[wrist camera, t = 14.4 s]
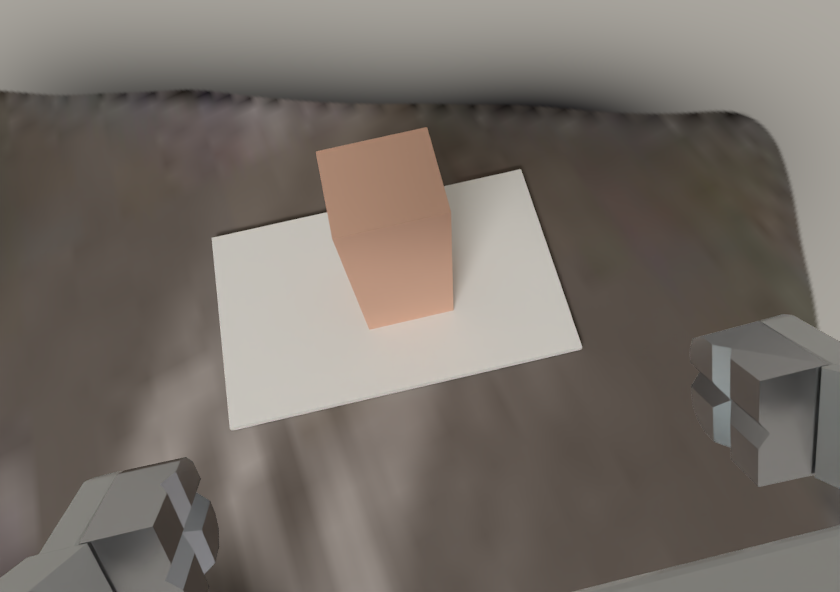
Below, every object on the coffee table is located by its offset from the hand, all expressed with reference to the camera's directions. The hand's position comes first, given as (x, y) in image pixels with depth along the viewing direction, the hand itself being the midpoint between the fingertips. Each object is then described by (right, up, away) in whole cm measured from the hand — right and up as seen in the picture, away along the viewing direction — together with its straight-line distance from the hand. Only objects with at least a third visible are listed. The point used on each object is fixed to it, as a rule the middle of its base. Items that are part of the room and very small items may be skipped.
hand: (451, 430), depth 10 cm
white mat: (-2, +2, +23) cm, 23 cm away
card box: (-1, +3, +23) cm, 23 cm away
